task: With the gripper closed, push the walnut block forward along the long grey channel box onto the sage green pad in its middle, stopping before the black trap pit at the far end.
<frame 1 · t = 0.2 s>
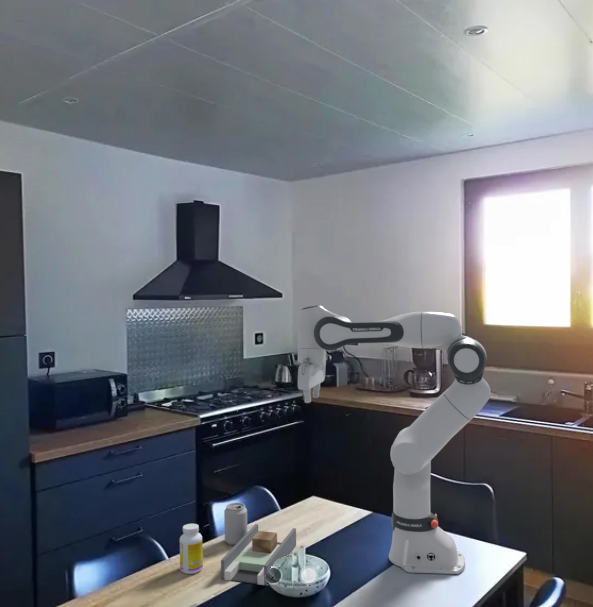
hand: (311, 399, 188), 47 cm above the table, tool pointing down, fingers open, 8 cm apart
walnut block: (264, 548, 183), point 2 cm above the table, touching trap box
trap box: (261, 561, 180), on the table
can: (236, 542, 194), on the table
supplement bottle: (191, 570, 175), on the table
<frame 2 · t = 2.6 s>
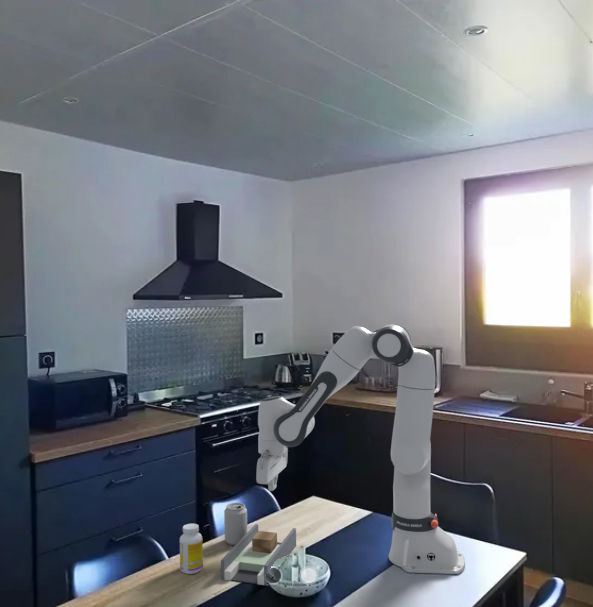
hand: (272, 489, 190), 18 cm above the table, tool pointing down, fingers closed
nothing on the table moved.
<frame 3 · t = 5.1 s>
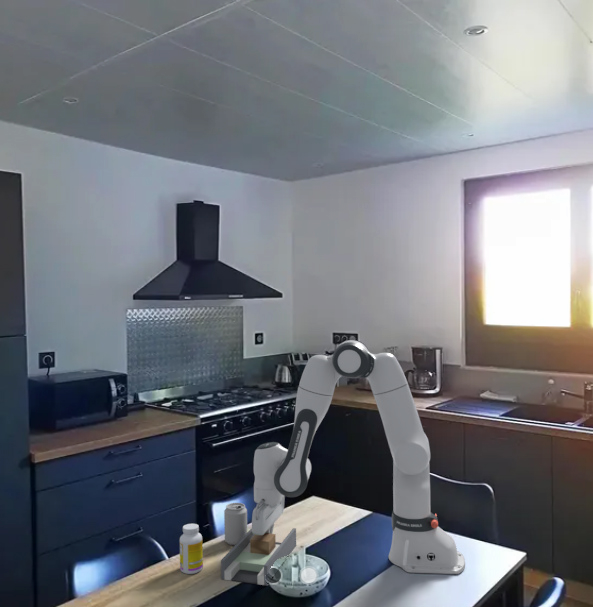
hand: (268, 538, 186), 4 cm above the table, tool pointing down, fingers closed
walnut block: (263, 549, 182), point 3 cm above the table, touching gripper, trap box
everything else where it was.
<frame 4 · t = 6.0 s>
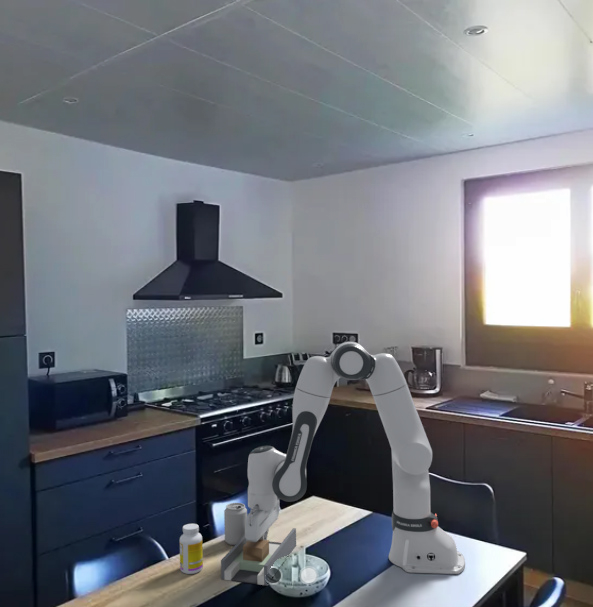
hand: (262, 544, 182), 4 cm above the table, tool pointing down, fingers closed
walnut block: (256, 556, 177), point 3 cm above the table, touching gripper
everything else where it was.
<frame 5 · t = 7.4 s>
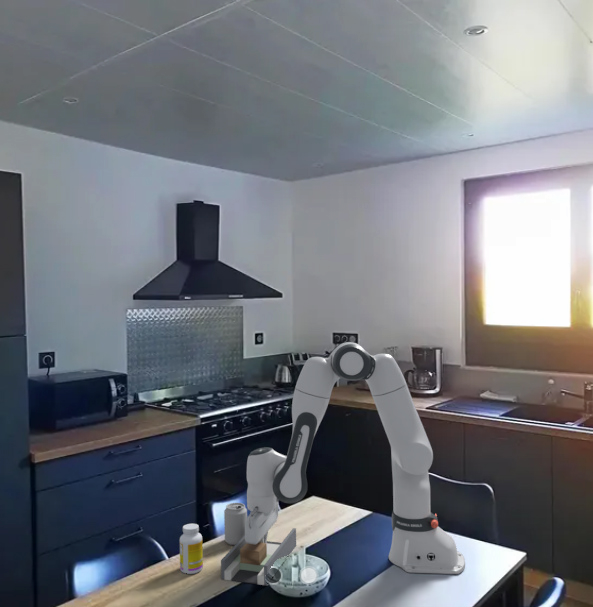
hand: (262, 546, 180), 4 cm above the table, tool pointing down, fingers closed
walnut block: (253, 559, 175), point 2 cm above the table, touching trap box
everything else where it was.
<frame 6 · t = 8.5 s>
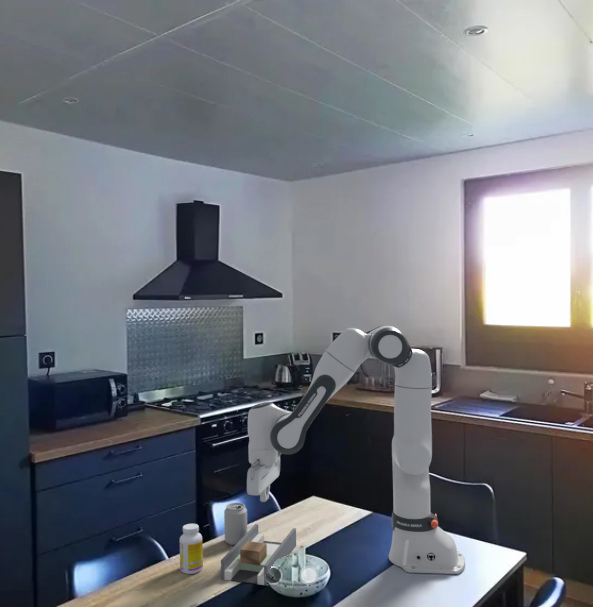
hand: (264, 500, 182), 18 cm above the table, tool pointing down, fingers closed
nothing on the table moved.
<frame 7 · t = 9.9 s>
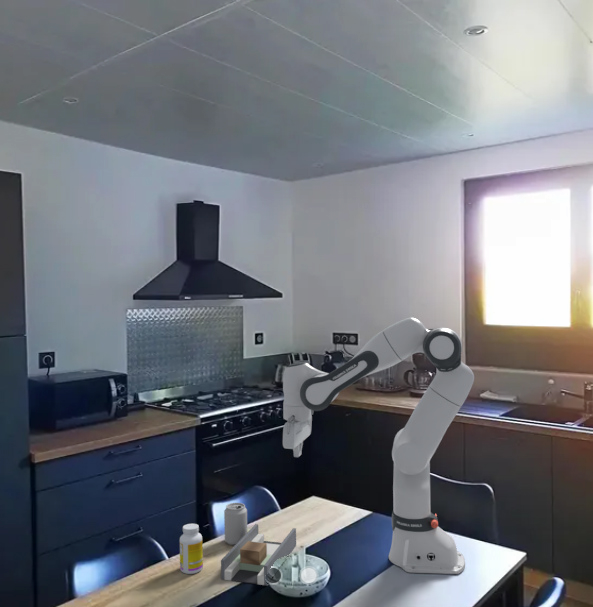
hand: (297, 456, 190), 29 cm above the table, tool pointing down, fingers closed
nothing on the table moved.
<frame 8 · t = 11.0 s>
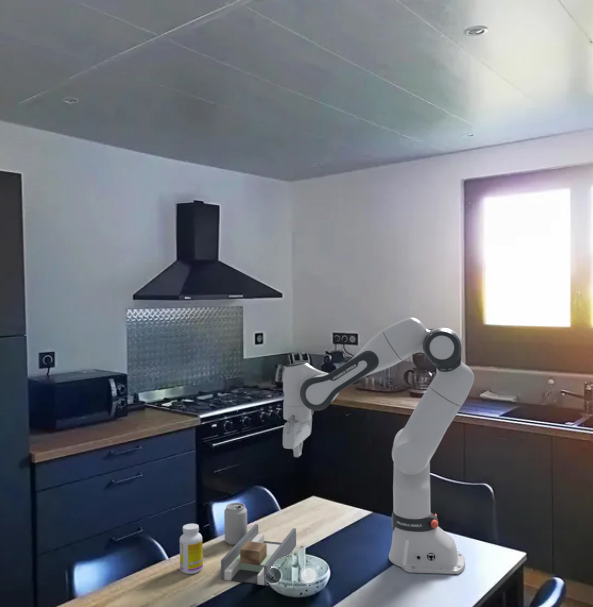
hand: (297, 455, 190), 29 cm above the table, tool pointing down, fingers closed
nothing on the table moved.
at the end: walnut block inside the target area on the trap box (1.2 cm from its centre), point 2.5 cm above the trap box's base; walnut block tilted 0° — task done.
